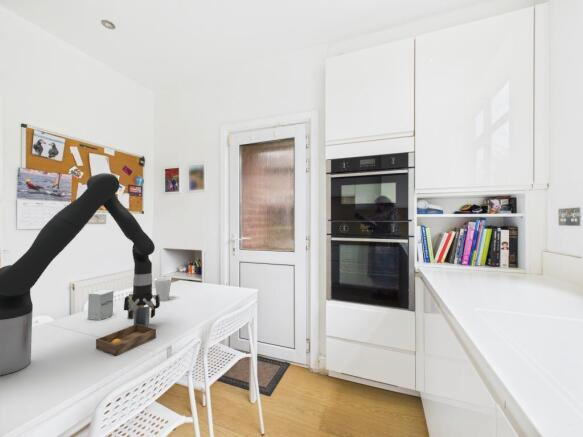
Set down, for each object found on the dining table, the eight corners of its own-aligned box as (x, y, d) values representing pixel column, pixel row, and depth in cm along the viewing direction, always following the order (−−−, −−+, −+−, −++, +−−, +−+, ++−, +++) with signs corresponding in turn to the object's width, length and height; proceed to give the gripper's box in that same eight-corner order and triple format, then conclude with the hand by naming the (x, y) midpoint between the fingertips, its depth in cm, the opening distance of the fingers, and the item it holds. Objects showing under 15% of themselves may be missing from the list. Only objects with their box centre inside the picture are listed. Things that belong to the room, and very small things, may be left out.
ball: (123, 337, 96) (121, 343, 93) (120, 344, 96) (118, 350, 94) (113, 336, 94) (111, 342, 92) (110, 343, 95) (108, 350, 92)
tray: (115, 356, 89) (115, 346, 89) (95, 348, 94) (96, 339, 94) (155, 337, 104) (156, 329, 104) (137, 331, 109) (137, 323, 109)
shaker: (137, 324, 117) (137, 307, 117) (149, 323, 118) (149, 306, 118) (133, 328, 112) (134, 310, 112) (146, 327, 113) (146, 310, 113)
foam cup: (154, 298, 156) (155, 277, 156) (171, 296, 160) (171, 276, 160) (153, 303, 147) (154, 280, 147) (170, 301, 151) (171, 279, 151)
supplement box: (99, 320, 120) (100, 294, 120) (87, 319, 122) (87, 293, 122) (113, 315, 127) (114, 290, 128) (101, 314, 129) (102, 289, 129)
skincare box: (127, 319, 123) (127, 294, 123) (130, 315, 127) (130, 291, 127) (141, 317, 124) (142, 293, 125) (144, 314, 129) (144, 291, 129)
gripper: (122, 285, 110) (121, 322, 109) (157, 284, 114) (157, 319, 113) (128, 281, 117) (127, 316, 117) (161, 280, 121) (160, 313, 121)
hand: (142, 318), depth 115 cm, fingers open, 8 cm apart
